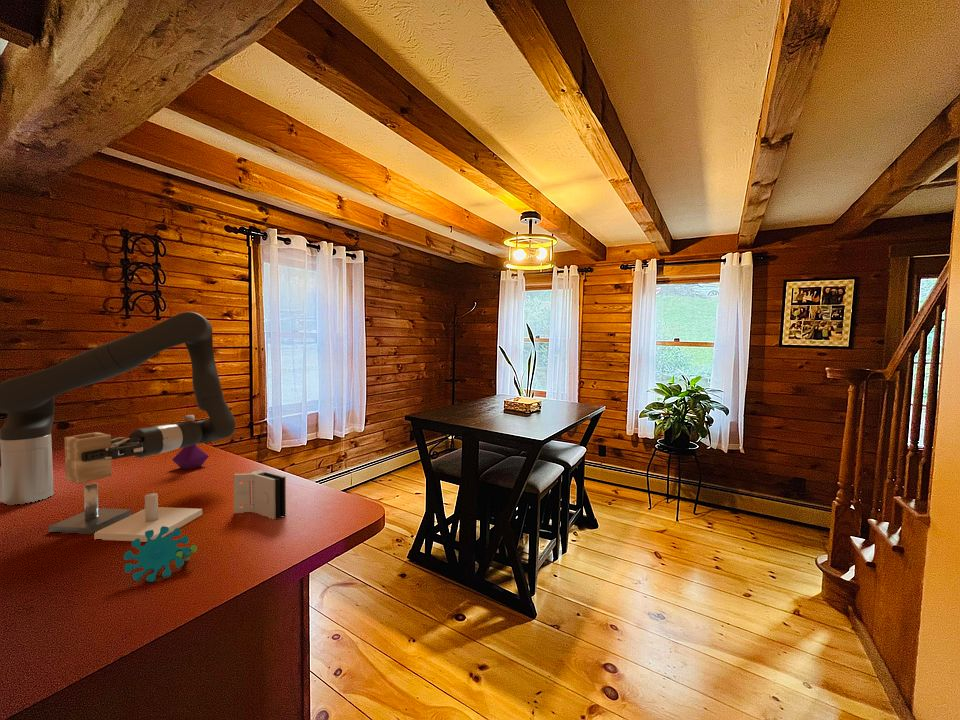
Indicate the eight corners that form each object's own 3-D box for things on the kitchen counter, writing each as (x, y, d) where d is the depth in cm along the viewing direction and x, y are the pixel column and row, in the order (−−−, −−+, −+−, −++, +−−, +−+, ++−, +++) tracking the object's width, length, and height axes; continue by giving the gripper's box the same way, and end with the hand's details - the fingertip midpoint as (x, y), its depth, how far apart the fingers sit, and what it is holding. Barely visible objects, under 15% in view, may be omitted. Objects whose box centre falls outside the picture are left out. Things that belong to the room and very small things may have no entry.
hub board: (94, 539, 90) (93, 506, 89) (149, 512, 104) (148, 483, 103) (154, 542, 89) (154, 508, 88) (202, 514, 103) (201, 485, 102)
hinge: (233, 513, 104) (232, 474, 103) (250, 505, 109) (249, 468, 109) (277, 520, 100) (277, 480, 100) (293, 512, 105) (293, 473, 105)
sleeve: (65, 479, 95) (64, 437, 94) (97, 472, 100) (97, 432, 100) (79, 483, 92) (78, 440, 92) (111, 476, 98) (110, 435, 97)
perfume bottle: (209, 465, 142) (208, 414, 141) (187, 471, 135) (186, 417, 134) (193, 462, 144) (192, 412, 143) (171, 469, 137) (170, 416, 136)
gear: (113, 583, 71) (132, 526, 78) (118, 593, 75) (136, 538, 81) (189, 576, 76) (201, 523, 83) (190, 586, 80) (202, 534, 86)
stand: (49, 532, 92) (47, 491, 92) (93, 513, 102) (92, 476, 102) (90, 534, 92) (89, 493, 91) (131, 515, 102) (130, 477, 101)
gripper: (140, 423, 112) (58, 435, 96) (173, 429, 106) (91, 443, 91) (141, 450, 112) (59, 466, 97) (173, 457, 107) (91, 476, 91)
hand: (75, 455), depth 94 cm, fingers closed on sleeve, 6 cm apart
